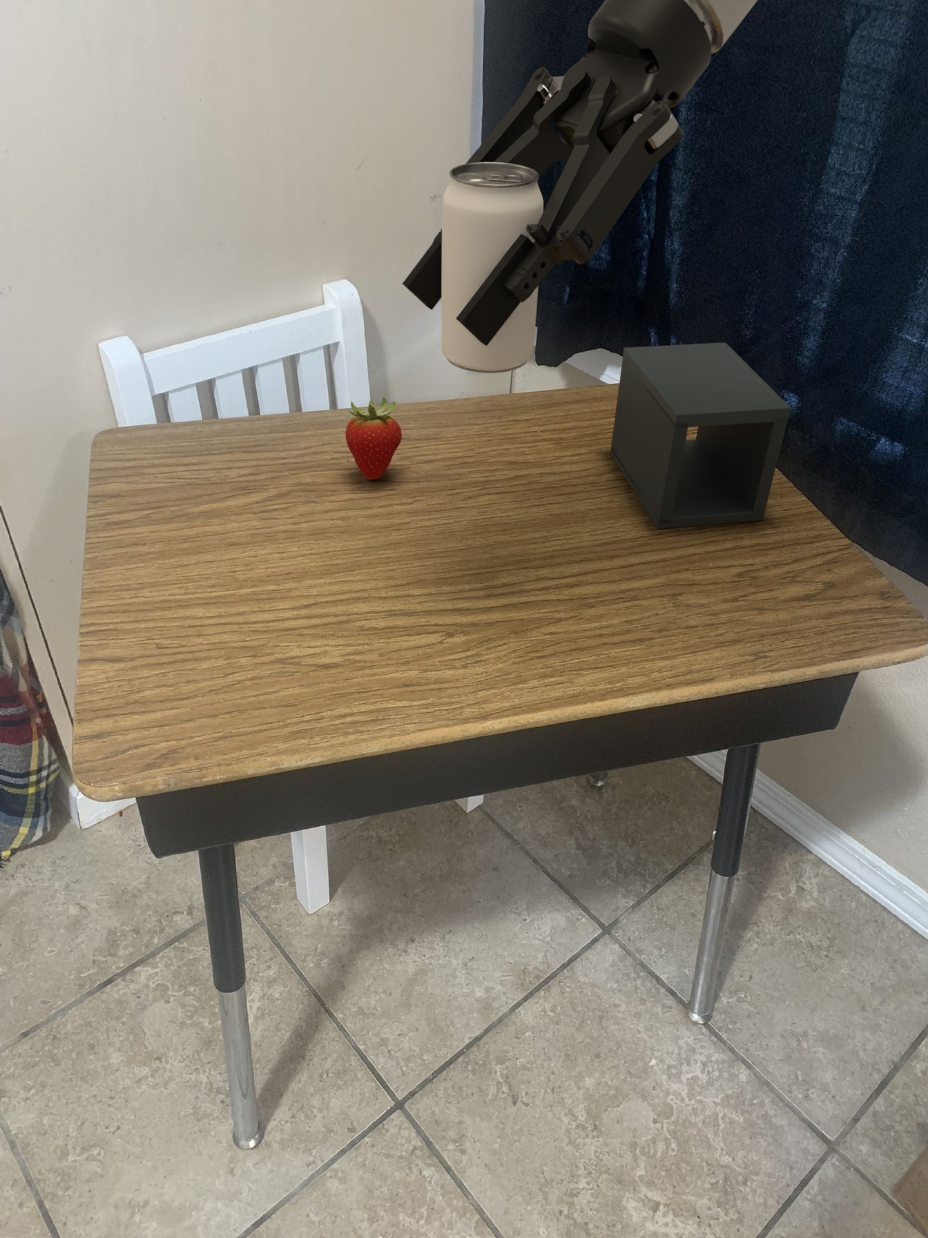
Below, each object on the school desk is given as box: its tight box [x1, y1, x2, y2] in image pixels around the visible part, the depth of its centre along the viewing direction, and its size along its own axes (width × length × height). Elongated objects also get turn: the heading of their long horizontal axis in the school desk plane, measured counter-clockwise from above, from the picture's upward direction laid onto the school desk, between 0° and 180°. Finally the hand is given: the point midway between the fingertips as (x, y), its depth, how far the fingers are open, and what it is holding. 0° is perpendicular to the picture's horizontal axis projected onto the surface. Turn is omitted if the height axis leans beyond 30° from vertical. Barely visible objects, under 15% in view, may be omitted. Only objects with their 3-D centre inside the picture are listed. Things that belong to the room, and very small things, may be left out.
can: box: [440, 162, 544, 374], centre depth 65 cm, size 6×6×12 cm
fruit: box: [345, 396, 403, 481], centre depth 90 cm, size 5×5×8 cm
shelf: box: [610, 342, 792, 530], centre depth 89 cm, size 14×10×11 cm
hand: (443, 313), depth 65 cm, fingers closed on can, 6 cm apart
